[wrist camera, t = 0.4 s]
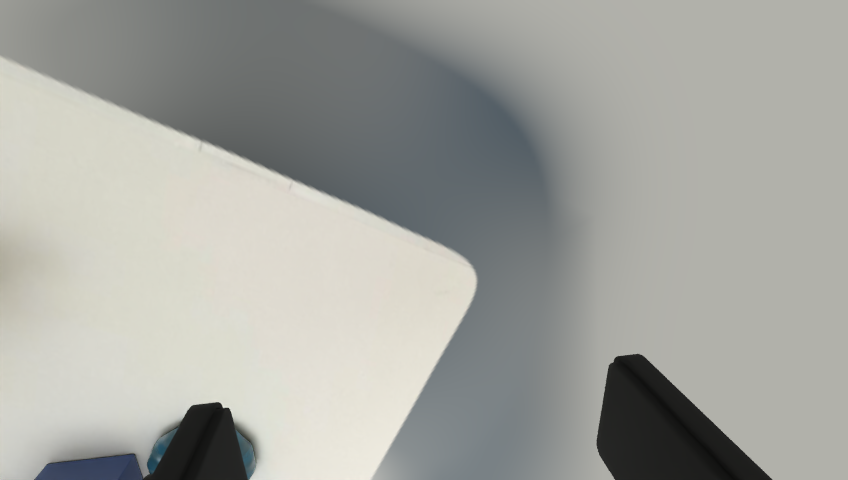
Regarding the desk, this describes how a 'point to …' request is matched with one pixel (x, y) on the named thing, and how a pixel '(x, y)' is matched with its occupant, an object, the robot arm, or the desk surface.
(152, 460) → the ring
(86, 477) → the box
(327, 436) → the desk surface
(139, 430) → the desk surface
